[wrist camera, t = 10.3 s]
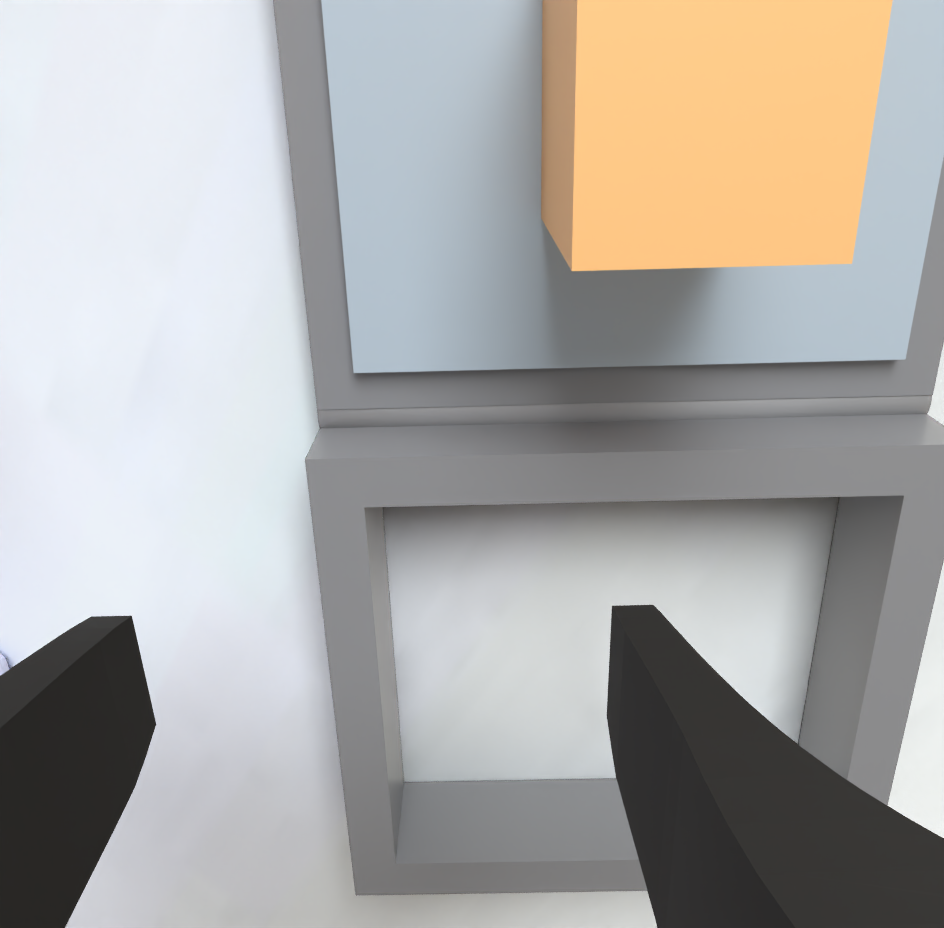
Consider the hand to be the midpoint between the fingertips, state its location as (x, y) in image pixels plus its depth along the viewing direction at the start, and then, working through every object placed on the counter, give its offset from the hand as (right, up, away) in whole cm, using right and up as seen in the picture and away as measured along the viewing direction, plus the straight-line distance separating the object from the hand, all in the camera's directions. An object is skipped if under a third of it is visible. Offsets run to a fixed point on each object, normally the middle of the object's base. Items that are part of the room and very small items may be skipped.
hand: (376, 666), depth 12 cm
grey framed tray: (+5, +5, +8) cm, 11 cm away
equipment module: (+5, +11, +4) cm, 12 cm away
